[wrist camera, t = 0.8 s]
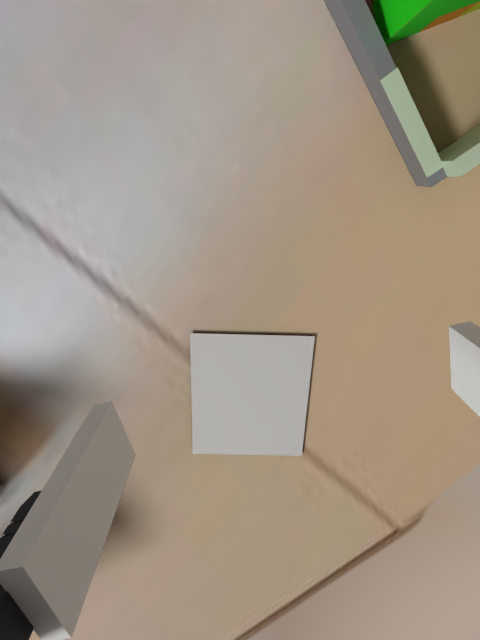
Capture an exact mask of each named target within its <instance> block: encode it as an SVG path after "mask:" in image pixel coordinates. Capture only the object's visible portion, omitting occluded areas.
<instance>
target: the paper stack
mask: <svg viewBox="0 0 480 640" xmlns="http://www.w3.org/2000/svg"><path fill="white" fill-rule="evenodd" d="M314 340H315V336H287V335H245V334H203V333H190V351H191V394H192V437H193V454H239V455H295V456H302V449H303V440H304V431H305V422H306V413H307V404H308V395H309V386H310V377H311V368H312V358H313V349H314Z"/></svg>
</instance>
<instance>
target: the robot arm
mask: <svg viewBox="0 0 480 640" xmlns="http://www.w3.org/2000/svg"><path fill="white" fill-rule="evenodd" d="M449 338H450V362H451V385H452V390H453V391H454V392H455V393H456V394H457V395H458V396H459V397H460V398H461V399H462V400H463V401H464V402H465V403H466V404H467V405H468V406H469V407H470V408H471V409H472V410H473V411H474V412H475V413H476V414H477V415H478V416H479V417H480V327H478V326H477V325H475V324H474V323H472V322H471V321H469V322H465V323H460V324H456V325H451V326H449ZM135 456H136V455H135V452H134V450H133V448H132V446H131V443H130V441H129V439H128V437H127V434H126V432H125V430H124V428H123V425H122V423H121V421H120V419H119V416H118V414H117V412H116V409H115V407H114V405H113V403H112V401H111V402H106V403H102V404H97V405H94V406H93V407H92V409H91V410H90V412H89V414H88V415H87V417H86V419H85V420H84V422H83V424H82V425H81V427H80V429H79V430H78V432H77V433H76V435H75V437H74V438H73V440H72V442H71V443H70V445H69V447H68V448H67V450H66V452H65V453H64V455H63V457H62V458H61V460H60V461H59V463H58V465H57V466H56V468H55V470H54V471H53V473H52V475H51V476H50V478H49V480H48V481H47V483H46V485H45V486H44V488H43V489H42V491H38V492H34V493H33V494H32V495H31V496H30V497H29V498H28V499H27V500H26V501H25V502H24V504H23V505H22V506H21V507H20V508H19V510H18V511H17V513H16V514H15V516H14V517H13V519H12V520H11V524H10V525H8V527H7V528H6V530H5V531H4V533H3V534H2V538H0V640H29V638H30V635H31V633H32V631H33V629H34V631H35V632H36V633H37V635H38V636H39V637H40V639H41V640H62V639H68V638H71V637H72V634H73V631H74V629H75V626H76V623H77V620H78V617H79V614H80V612H81V609H82V606H83V603H84V600H85V597H86V595H87V592H88V589H89V586H90V583H91V580H92V578H93V575H94V572H95V569H96V566H97V563H98V561H99V558H100V555H101V552H102V549H103V546H104V544H105V541H106V538H107V535H108V532H109V529H110V526H111V524H112V521H113V518H114V515H115V512H116V509H117V507H118V504H119V501H120V498H121V495H122V492H123V490H124V487H125V484H126V481H127V478H128V475H129V473H130V470H131V467H132V464H133V461H134V458H135Z"/></svg>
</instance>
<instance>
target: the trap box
mask: <svg viewBox="0 0 480 640" xmlns="http://www.w3.org/2000/svg"><path fill="white" fill-rule="evenodd" d="M324 1H325V3H326V5H327V7H328V9H329V11H330V13H331V15H332V17H333V19H334V21H335V23H336V25H337V27H338V29H339V31H340V33H341V35H342V37H343V39H344V41H345V43H346V45H347V47H348V49H349V51H350V53H351V55H352V57H353V59H354V61H355V63H356V65H357V67H358V69H359V71H360V73H361V75H362V77H363V79H364V81H365V83H366V86H367V88H368V90H369V92H370V94H371V96H372V98H373V100H374V102H375V104H376V106H377V108H378V110H379V112H380V114H381V116H382V118H383V120H384V122H385V124H386V126H387V128H388V130H389V132H390V134H391V136H392V138H393V140H394V142H395V144H396V146H397V148H398V150H399V152H400V154H401V156H402V158H403V160H404V162H405V164H406V166H407V168H408V170H409V172H410V174H411V176H412V178H413V180H414V182H415V184H416V186H424V187H432V186H434V185H435V184H437V183H438V182H440V181H441V180H443V179H444V178H446V177H460V176H462V175H463V174H465V173H466V172H468V171H469V170H471V169H472V168H474V167H475V166H477V165H478V164H480V125H479V126H477V127H476V128H474V129H473V130H471V131H470V132H468V133H467V134H465V135H464V136H462V137H461V138H460V139H458V140H457V141H455V142H454V143H452V144H451V145H449V146H448V147H446V148H445V149H443V150H442V151H440V152H439V153H437V151H436V149H435V146H434V144H433V142H432V140H431V138H430V136H429V134H428V131H427V129H426V127H425V125H424V123H423V121H422V118H421V116H420V114H419V112H418V110H417V108H416V106H415V103H414V101H413V99H412V97H411V95H410V93H409V90H408V88H407V86H406V84H405V82H404V80H403V78H402V75H401V73H400V71H399V69H398V67H397V68H396V66H395V63H394V61H393V59H392V57H391V55H390V53H389V51H388V48H387V46H386V44H385V42H384V40H383V38H382V36H381V33H380V31H379V29H378V27H377V25H376V23H375V20H374V18H373V16H372V14H371V12H370V10H369V8H368V5H367V3H366V1H365V0H324Z"/></svg>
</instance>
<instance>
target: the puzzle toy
mask: <svg viewBox="0 0 480 640" xmlns="http://www.w3.org/2000/svg"><path fill="white" fill-rule="evenodd" d="M372 4H373V10H374V16H375V22H376V25H377V27H378V29H379V31H380V33H381V36H382V38H383V40H384V42H385V44H386V45H387V44H390V43H393V42H395V41H398V40H400V39H403V38H405V37H408V36H411V35H413V34H416V33H418V32H421V31H423V30H426V29H429V28H431V27H434V26H436V25H439V24H441V23H444V22H447V21H449V20H452V19H454V18H457V17H459V16H462V15H465V14H467V13H470V12H472V11H475V10H477V9H480V0H372Z"/></svg>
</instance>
